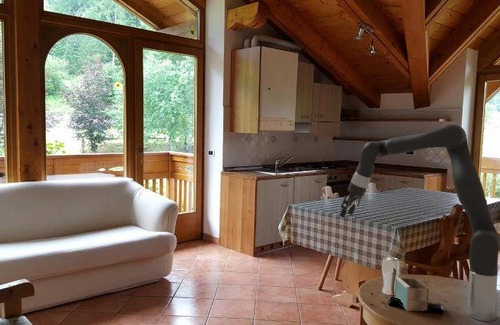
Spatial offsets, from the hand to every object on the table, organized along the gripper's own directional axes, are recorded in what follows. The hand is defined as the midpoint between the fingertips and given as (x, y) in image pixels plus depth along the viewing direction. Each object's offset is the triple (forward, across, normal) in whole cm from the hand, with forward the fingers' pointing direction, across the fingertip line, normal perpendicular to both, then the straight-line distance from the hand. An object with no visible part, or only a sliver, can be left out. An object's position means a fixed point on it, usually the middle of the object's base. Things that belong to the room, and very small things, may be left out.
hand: (346, 215), depth 189 cm
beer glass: (+22, +1, -31) cm, 38 cm away
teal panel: (+19, -8, -38) cm, 43 cm away
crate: (+18, -6, -41) cm, 45 cm away
